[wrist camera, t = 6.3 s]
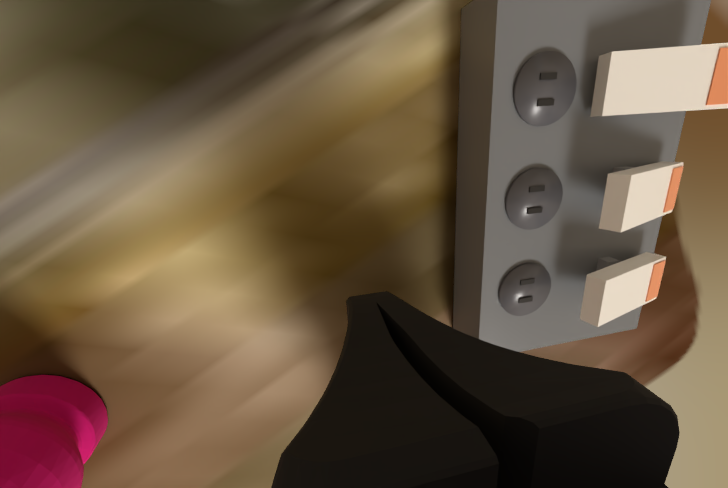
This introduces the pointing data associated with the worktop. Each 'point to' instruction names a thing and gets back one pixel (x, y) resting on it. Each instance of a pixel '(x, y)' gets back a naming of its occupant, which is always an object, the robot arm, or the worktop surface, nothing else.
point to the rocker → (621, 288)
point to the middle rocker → (639, 195)
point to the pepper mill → (48, 431)
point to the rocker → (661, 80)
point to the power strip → (550, 160)
